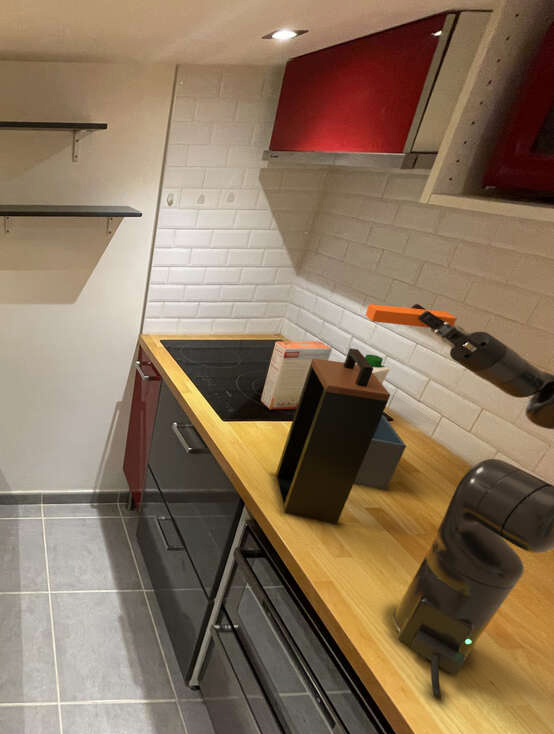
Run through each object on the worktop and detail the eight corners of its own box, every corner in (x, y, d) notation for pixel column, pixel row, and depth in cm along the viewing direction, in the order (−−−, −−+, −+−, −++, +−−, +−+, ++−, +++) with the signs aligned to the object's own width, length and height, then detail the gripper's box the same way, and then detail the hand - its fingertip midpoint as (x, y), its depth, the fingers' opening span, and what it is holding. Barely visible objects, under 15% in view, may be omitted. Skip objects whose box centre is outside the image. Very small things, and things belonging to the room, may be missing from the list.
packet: (441, 323, 96) (446, 311, 94) (451, 330, 92) (457, 318, 91) (365, 315, 100) (369, 304, 99) (371, 321, 96) (376, 310, 95)
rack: (321, 485, 106) (373, 348, 91) (336, 524, 95) (398, 375, 80) (275, 475, 109) (317, 341, 94) (284, 512, 98) (334, 366, 83)
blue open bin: (367, 456, 117) (384, 415, 111) (386, 489, 105) (406, 446, 100) (309, 445, 121) (323, 405, 115) (321, 476, 109) (337, 433, 104)
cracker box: (301, 400, 143) (320, 340, 134) (313, 410, 138) (334, 348, 129) (258, 400, 142) (275, 340, 134) (269, 410, 137) (286, 348, 128)
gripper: (486, 332, 98) (419, 288, 99) (527, 359, 85) (451, 307, 86) (452, 357, 101) (388, 313, 102) (488, 385, 89) (415, 335, 90)
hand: (417, 311), depth 94 cm, fingers closed on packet, 4 cm apart
